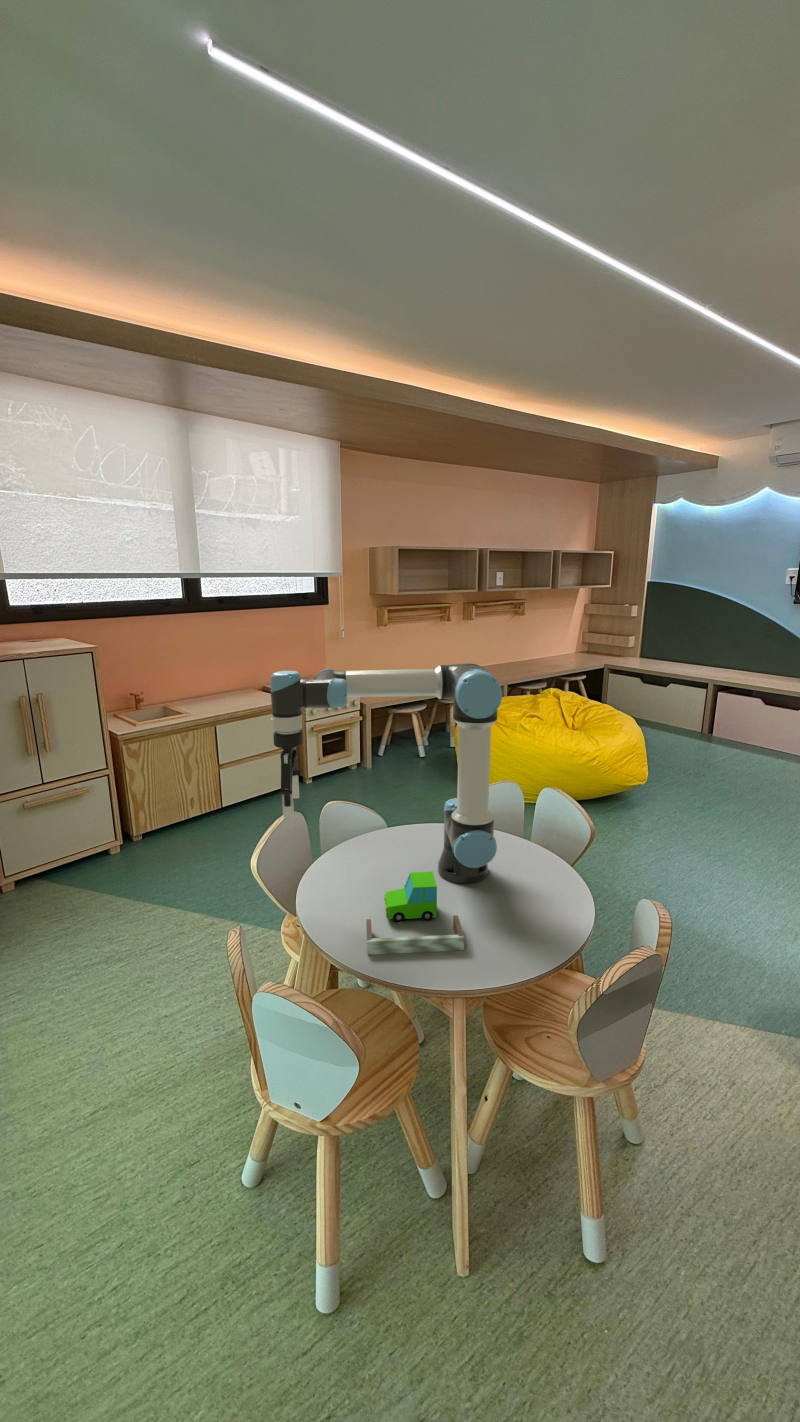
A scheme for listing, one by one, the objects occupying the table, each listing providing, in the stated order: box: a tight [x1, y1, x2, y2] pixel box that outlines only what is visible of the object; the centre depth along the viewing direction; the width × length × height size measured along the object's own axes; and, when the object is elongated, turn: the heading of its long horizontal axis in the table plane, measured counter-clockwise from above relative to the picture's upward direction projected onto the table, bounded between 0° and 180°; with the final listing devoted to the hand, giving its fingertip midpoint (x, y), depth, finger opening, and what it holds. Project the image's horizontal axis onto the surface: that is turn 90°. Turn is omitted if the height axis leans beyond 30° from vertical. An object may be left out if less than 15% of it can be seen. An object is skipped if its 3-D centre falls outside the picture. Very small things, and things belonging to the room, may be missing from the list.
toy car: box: [383, 870, 438, 923], centre depth 162 cm, size 10×13×10 cm
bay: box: [366, 914, 465, 955], centre depth 151 cm, size 23×10×4 cm, turn 94°
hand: (291, 807), depth 163 cm, fingers open, 13 cm apart
